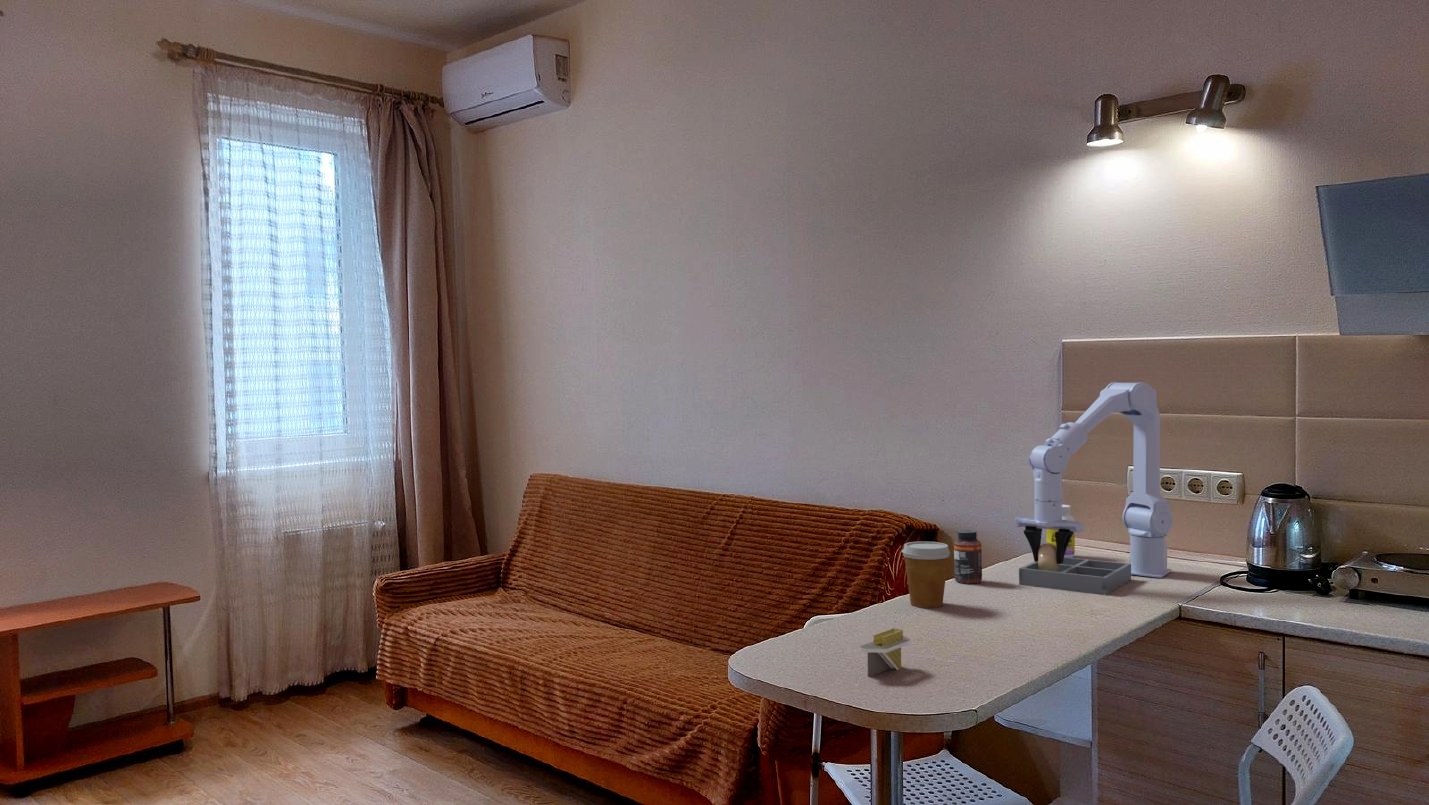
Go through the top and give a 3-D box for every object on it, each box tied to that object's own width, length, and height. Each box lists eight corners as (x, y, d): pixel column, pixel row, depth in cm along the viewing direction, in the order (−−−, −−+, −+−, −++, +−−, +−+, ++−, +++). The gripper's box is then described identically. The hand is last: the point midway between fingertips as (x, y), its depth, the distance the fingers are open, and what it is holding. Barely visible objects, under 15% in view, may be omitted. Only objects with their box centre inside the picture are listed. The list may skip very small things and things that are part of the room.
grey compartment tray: (1048, 570, 230) (1048, 555, 230) (1131, 579, 218) (1131, 563, 218) (1019, 584, 215) (1019, 568, 215) (1106, 594, 204) (1106, 578, 204)
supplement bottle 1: (979, 578, 222) (979, 528, 221) (984, 584, 216) (983, 533, 215) (952, 578, 222) (952, 528, 222) (956, 584, 216) (956, 533, 216)
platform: (951, 669, 156) (951, 628, 156) (886, 697, 143) (886, 652, 143) (888, 655, 164) (888, 616, 164) (821, 680, 152) (821, 637, 151)
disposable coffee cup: (955, 601, 200) (954, 542, 200) (945, 611, 192) (944, 550, 191) (908, 597, 204) (908, 540, 204) (897, 607, 196) (896, 547, 195)
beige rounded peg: (1042, 567, 219) (1041, 541, 219) (1062, 569, 216) (1061, 542, 216) (1035, 570, 215) (1034, 543, 215) (1055, 572, 213) (1054, 545, 213)
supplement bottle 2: (1047, 558, 244) (1047, 507, 243) (1045, 554, 250) (1045, 503, 250) (1076, 559, 242) (1075, 507, 242) (1073, 554, 248) (1073, 504, 248)
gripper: (1009, 500, 217) (1009, 561, 217) (1075, 504, 208) (1076, 568, 208) (1020, 496, 222) (1021, 556, 223) (1086, 501, 213) (1086, 563, 214)
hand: (1048, 562), depth 216 cm, fingers closed on beige rounded peg, 4 cm apart
